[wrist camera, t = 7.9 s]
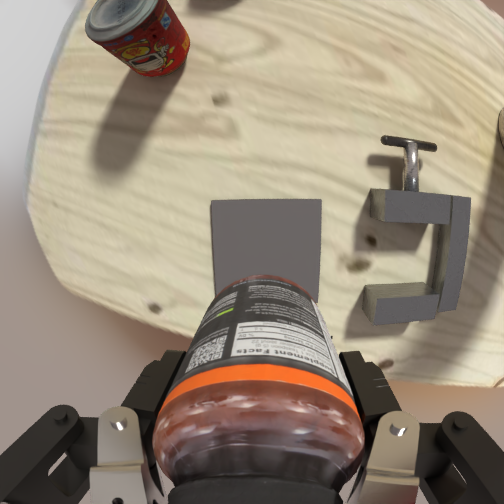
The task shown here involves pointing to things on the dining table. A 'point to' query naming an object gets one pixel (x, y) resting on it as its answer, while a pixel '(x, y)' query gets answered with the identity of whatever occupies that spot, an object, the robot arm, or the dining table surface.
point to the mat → (267, 240)
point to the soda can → (140, 34)
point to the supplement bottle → (260, 404)
